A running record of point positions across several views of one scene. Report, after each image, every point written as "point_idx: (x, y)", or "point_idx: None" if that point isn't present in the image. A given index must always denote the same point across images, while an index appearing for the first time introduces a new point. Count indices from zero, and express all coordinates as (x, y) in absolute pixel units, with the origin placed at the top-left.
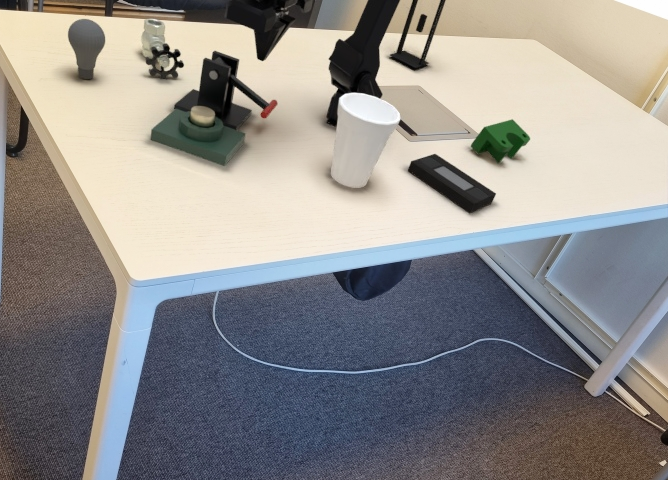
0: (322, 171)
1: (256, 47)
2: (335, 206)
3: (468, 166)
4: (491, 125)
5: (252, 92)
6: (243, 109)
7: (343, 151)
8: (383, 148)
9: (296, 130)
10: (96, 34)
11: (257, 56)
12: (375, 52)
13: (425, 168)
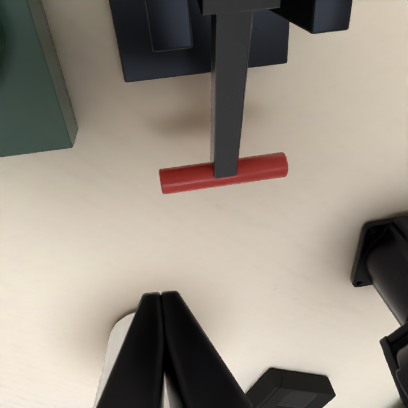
0: (136, 294)
1: (115, 361)
2: (32, 350)
3: (355, 401)
4: None
5: (227, 124)
6: (269, 38)
7: (95, 404)
8: None
9: (285, 187)
10: None
11: (139, 306)
12: None
13: (266, 403)
